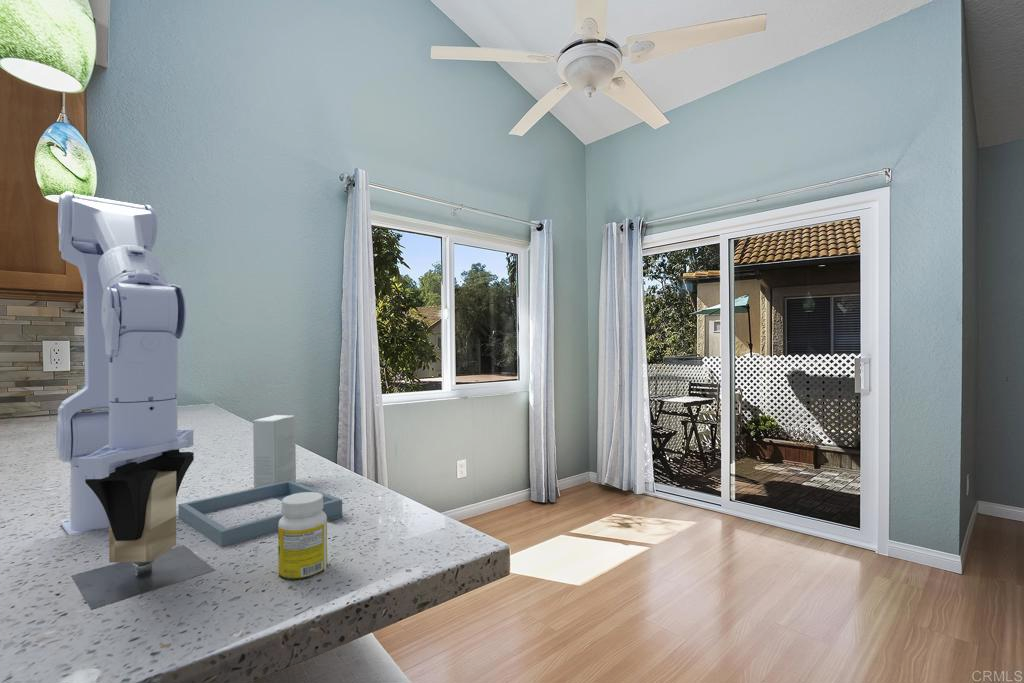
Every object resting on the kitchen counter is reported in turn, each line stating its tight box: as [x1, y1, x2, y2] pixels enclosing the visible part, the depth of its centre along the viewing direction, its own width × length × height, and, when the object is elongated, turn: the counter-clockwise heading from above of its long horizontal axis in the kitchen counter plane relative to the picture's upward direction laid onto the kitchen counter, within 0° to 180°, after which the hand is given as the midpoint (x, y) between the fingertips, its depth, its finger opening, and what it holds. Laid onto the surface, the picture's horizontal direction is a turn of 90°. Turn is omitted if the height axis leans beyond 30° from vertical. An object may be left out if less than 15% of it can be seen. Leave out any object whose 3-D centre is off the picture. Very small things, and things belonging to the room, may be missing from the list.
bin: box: [177, 480, 343, 548], centre depth 68 cm, size 16×16×2 cm
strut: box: [108, 471, 177, 564], centre depth 51 cm, size 4×4×8 cm
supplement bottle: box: [277, 492, 328, 582], centre depth 51 cm, size 5×5×8 cm
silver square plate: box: [70, 544, 216, 611], centre depth 51 cm, size 10×10×4 cm
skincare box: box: [252, 414, 297, 488], centre depth 85 cm, size 6×4×12 cm
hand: (143, 530), depth 51 cm, fingers closed on strut, 4 cm apart
